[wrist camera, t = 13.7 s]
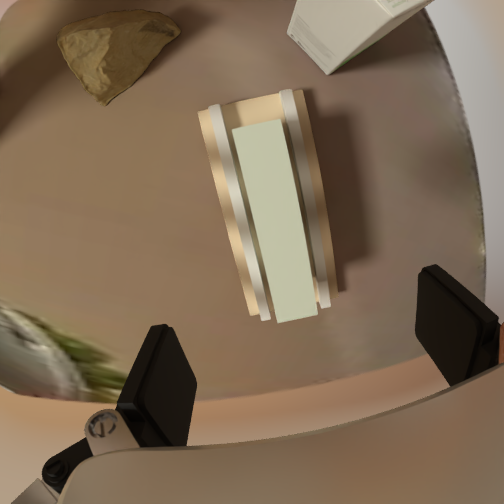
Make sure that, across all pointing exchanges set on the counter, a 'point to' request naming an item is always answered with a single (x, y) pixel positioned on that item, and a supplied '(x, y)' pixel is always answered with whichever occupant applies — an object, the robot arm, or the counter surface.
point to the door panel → (277, 218)
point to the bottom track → (237, 203)
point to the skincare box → (346, 26)
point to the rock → (114, 49)
